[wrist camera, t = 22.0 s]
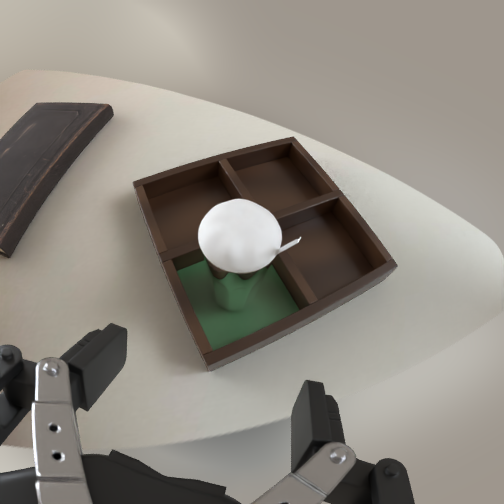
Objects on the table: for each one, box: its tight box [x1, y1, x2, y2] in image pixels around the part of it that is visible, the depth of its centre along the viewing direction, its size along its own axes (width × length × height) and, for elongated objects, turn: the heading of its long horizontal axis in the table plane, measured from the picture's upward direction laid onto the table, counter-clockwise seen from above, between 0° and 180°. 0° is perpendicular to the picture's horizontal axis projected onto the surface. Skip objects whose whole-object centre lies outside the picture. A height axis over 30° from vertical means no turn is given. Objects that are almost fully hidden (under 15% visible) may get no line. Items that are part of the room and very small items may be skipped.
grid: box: [133, 137, 398, 372], centre depth 26 cm, size 17×17×3 cm
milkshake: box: [198, 199, 301, 311], centre depth 19 cm, size 5×5×10 cm
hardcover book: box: [0, 103, 114, 258], centre depth 28 cm, size 16×23×2 cm
